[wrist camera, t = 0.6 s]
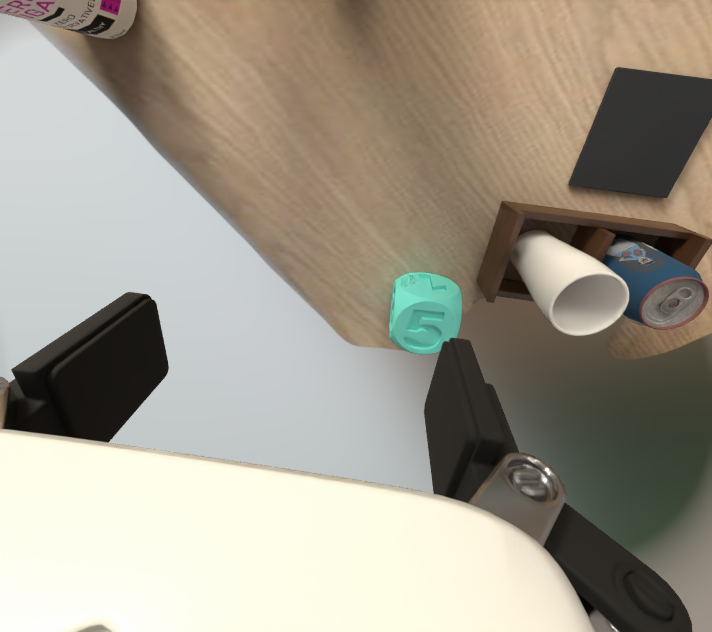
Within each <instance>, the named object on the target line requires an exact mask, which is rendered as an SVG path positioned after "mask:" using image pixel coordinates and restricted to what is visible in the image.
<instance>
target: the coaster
mask: <svg viewBox="0 0 712 632" xmlns="http://www.w3.org/2000/svg"><path fill="white" fill-rule="evenodd" d="M711 118H712V79H705V78H697V77H690V76H682V75H674V74H666V73H659V72H651V71H643V70H636V69H628V68H620V67H618V68H616V69H615V71H614V73H613V76H612V78H611V81H610V83H609V86H608V88H607V91H606V93H605V96H604V98H603V100H602V103H601V105H600V108H599V110H598V113H597V115H596V118H595V120H594V123H593V125H592V127H591V130H590V132H589V135H588V137H587V140H586V142H585V145H584V147H583V149H582V152H581V154H580V157H579V159H578V162H577V164H576V167H575V169H574V172H573V174H572V176H571V179H570V181H569V185H573V186H580V187H588V188H595V189H603V190H610V191H617V192H625V193H632V194H640V195H647V196H655V197H662V198H667V197H668V195H669V193H670V191H671V190H672V188H673V186H674V184H675V182H676V181H677V179H678V177H679V175H680V173H681V172H682V170H683V168H684V166H685V164H686V163H687V161H688V159H689V157H690V155H691V154H692V152H693V150H694V148H695V146H696V145H697V143H698V141H699V139H700V138H701V136H702V134H703V132H704V130H705V129H706V127H707V125H708V123H709V121H710V120H711Z"/></svg>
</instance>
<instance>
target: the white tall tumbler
mask: <svg viewBox="0 0 712 632" xmlns="http://www.w3.org/2000/svg"><path fill="white" fill-rule="evenodd" d="M510 260H511V262H512V264H513V265H514V266H515V268H516V269H517V271H518V273H519V274H520V276H521V278H522V280H523V282H524V283H525V285H526V287H527V289H528V291H529V293H530V295H531V296H532V298H533V300H534V302H535V303H536V305H537V306H538V308H539V309H540V310H541V312H542V313H543V314H544V316H545V317H546V318H547V319H548V320H549V321H550V322H551V323H552V325H553V326H554V327H555V328H556V329H557V330H559V331H561V332H563V333H565V334H568V335H574V336H584V335H590V334H594V333H597V332H599V331H602V330H603V329H606V328H607V327H609V326H610V325H612V324H613V323H614V322H615V321H617V320H618V318H620V316H621V315H622V314H623V312H624V311H625V309H626V307H627V305H628V302H629V289H628V286H627V284H626V283H625V281H624V280H623V279H622V278H621V277H619V276H618V275H617V274H616V273H615V272H614V271H612V270H611V269H610V268H608V267H607V266H606V265H604V264H603V263H602V262H600V261H599V260H597V259H595V258H594V257H592V256H590V255H588V254H586V253H584V252H582V251H580V250H578V249H576V248H574V247H572V246H570V245H568V244H566V243H564V242H563V241H561V240H559V239H557V238H555V237H553V236H552V235H550V234H549V233H548V232H546V231H543V230H530V231H527V232H525V233H523V234H521V235H520V236H518V237H517V240H516V242H515V245H514V248H513V251H512V253H511V256H510Z"/></svg>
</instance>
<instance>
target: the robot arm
mask: <svg viewBox="0 0 712 632" xmlns="http://www.w3.org/2000/svg"><path fill="white" fill-rule="evenodd" d="M168 368H169V367H168V360H167V356H166V350H165V345H164V340H163V335H162V330H161V325H160V320H159V315H158V310H157V305H156V303H155V301H154V300H152V299H151V297H150V296H149V295H147V294H140V293H132V292H128V293H125V294H124V295H122V296H121V297H119V298H118V299H116V300H115V301H113V302H112V303H110V304H109V305H108V306H106V307H104V308H103V309H101V310H100V311H98V312H97V313H95V314H94V315H92V316H91V317H89V318H88V319H86V320H85V321H83V322H82V323H80V324H79V325H77V326H76V327H74V328H73V329H71V330H70V331H68V332H67V333H65V334H64V335H62V336H61V337H59V338H58V339H56V340H55V341H53V342H52V343H50V344H49V345H47V346H46V347H45V348H43V349H41V350H40V351H38V352H37V353H35V354H34V355H32V356H31V357H29V358H28V359H26V360H25V361H23V362H22V363H20V364H19V365H17V366H16V367H14V368H13V369H12V372H13V374H14V376H15V378H16V379H14V380H13V381H12V382H10V383H9V382H8V381H7V380H6V379H4V378H3V377H0V632H692V623H691V620H690V617H689V615H688V612H687V610H686V608H685V606H684V605H683V603H682V601H681V600H680V598H679V597H678V595H677V594H676V593H675V591H674V590H673V589H672V588H671V587H670V586H669V584H668V583H667V582H666V581H665V580H663V579H662V578H661V577H660V576H659V575H658V574H657V573H656V572H654V571H653V570H652V569H651V568H649V567H648V566H647V565H645V564H644V563H643V562H641V561H640V560H639V559H638V558H636V557H635V556H633V555H632V554H631V553H630V552H628V551H627V550H626V549H625V548H623V547H622V546H621V545H619V544H618V543H617V542H616V541H614V540H613V539H611V538H610V537H609V536H608V535H606V534H605V533H604V532H603V531H601V530H600V529H599V528H597V527H596V526H595V525H593V524H592V523H591V522H589V521H588V520H587V519H586V518H584V517H583V516H582V515H580V514H579V513H578V512H577V511H575V510H574V509H573V508H571V507H570V506H569V505H567V504H566V503H565V498H566V490H565V486H564V484H563V482H562V480H561V479H560V477H559V476H558V474H557V473H556V472H555V471H554V470H553V469H552V468H551V467H550V466H549V465H547V464H546V463H545V462H544V461H542V460H540V459H538V458H536V457H534V456H532V455H529V454H526V453H519V451H518V448H517V445H516V443H515V440H514V438H513V435H512V433H511V430H510V427H509V425H508V423H507V420H506V417H505V415H504V412H503V410H502V407H501V404H500V402H499V399H498V397H497V394H496V391H495V389H494V387H493V386H492V385H491V384H487V383H485V381H484V378H483V376H482V373H481V370H480V367H479V365H478V362H477V359H476V356H475V354H474V351H473V348H472V345H471V342H470V341H469V340H465V339H458V338H450V340H449V342H448V341H444V342H443V344H442V347H441V350H440V354H439V357H438V361H437V364H436V367H435V371H434V374H433V378H432V381H431V385H430V388H429V392H428V395H427V399H426V402H425V409H424V415H425V424H426V432H427V441H428V449H429V457H430V466H431V474H432V482H433V491H434V494H432V493H427V492H423V491H418V490H413V489H408V488H402V487H396V486H390V485H384V484H378V483H373V482H367V481H361V480H355V479H348V478H342V477H335V476H329V475H323V474H316V473H309V472H303V471H296V470H290V469H284V468H277V467H271V466H263V465H257V464H251V463H244V462H237V461H231V460H224V459H217V458H211V457H204V456H197V455H190V454H183V453H177V452H170V451H163V450H156V449H149V448H142V447H135V446H128V445H121V444H114V443H108V442H109V441H110V440H111V439H112V438H113V436H114V435H115V434H116V433H117V432H118V431H119V430H120V428H121V427H122V426H123V425H124V424H125V423H126V421H127V420H128V419H129V418H130V417H131V416H132V414H133V413H134V412H135V411H136V410H137V409H138V408H139V406H140V405H141V404H142V403H143V402H144V400H146V398H147V397H148V396H149V395H150V394H151V392H152V391H153V390H154V389H155V388H156V387H157V386H158V385H159V383H160V382H161V381H162V380H163V379H164V378H165V376H166V375H167V373H168Z"/></svg>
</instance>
